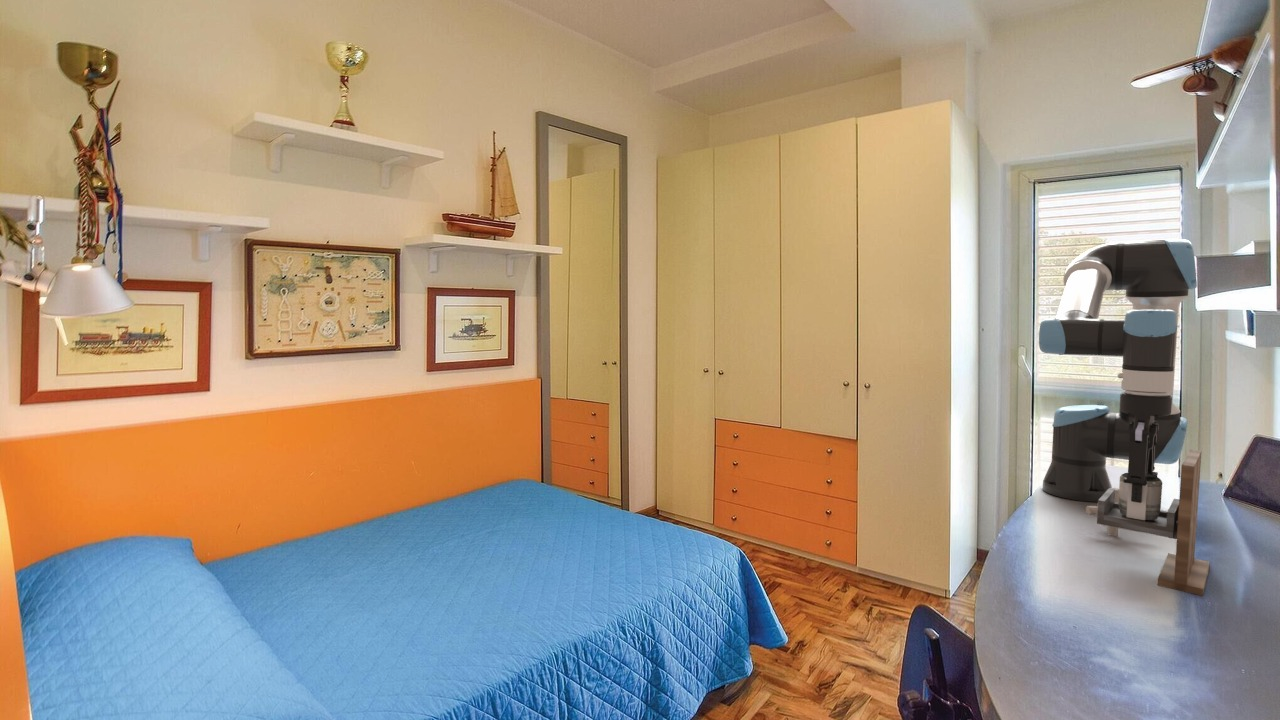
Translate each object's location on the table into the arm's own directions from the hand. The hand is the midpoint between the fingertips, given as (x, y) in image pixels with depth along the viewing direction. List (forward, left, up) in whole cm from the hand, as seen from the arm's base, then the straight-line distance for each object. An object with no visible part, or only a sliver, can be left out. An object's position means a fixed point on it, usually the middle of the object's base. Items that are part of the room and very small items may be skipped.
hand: (1138, 513), depth 119 cm
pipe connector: (-17, -6, -10) cm, 21 cm away
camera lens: (0, 0, -1) cm, 1 cm away
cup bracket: (0, +2, -10) cm, 10 cm away
